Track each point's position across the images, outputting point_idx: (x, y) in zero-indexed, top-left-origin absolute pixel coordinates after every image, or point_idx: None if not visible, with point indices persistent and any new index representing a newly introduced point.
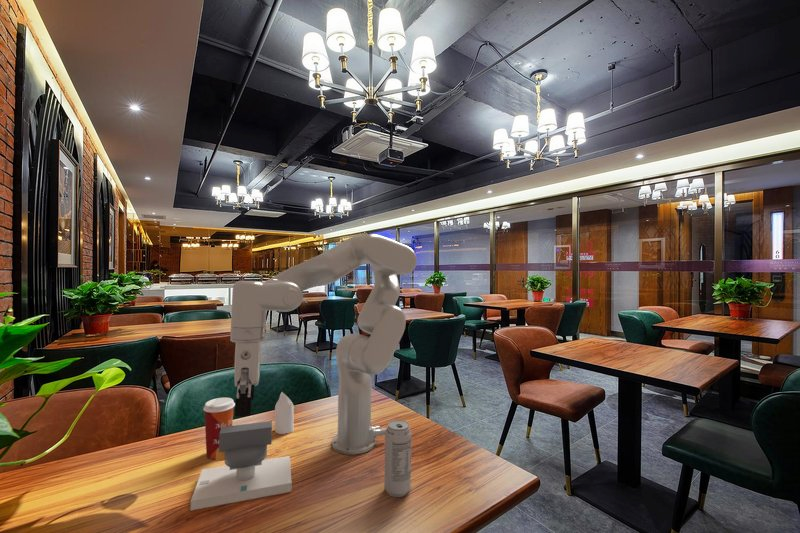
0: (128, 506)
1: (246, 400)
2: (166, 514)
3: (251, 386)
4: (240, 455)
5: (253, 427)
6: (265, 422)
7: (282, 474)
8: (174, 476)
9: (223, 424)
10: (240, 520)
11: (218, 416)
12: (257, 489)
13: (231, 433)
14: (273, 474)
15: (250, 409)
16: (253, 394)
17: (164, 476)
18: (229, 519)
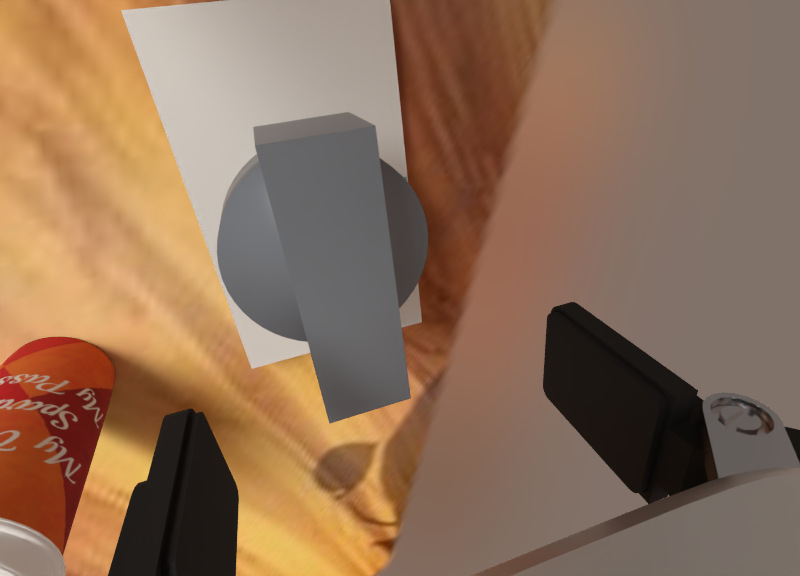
0: (367, 442)
1: (697, 402)
2: (414, 353)
3: (189, 559)
4: (426, 248)
5: (359, 255)
6: (283, 193)
7: (317, 39)
8: (239, 426)
9: (48, 454)
10: (486, 160)
11: (52, 515)
12: (401, 137)
13: (403, 348)
14: (311, 85)
15: (600, 324)
16: (183, 447)
17: (237, 449)
18: (473, 193)
